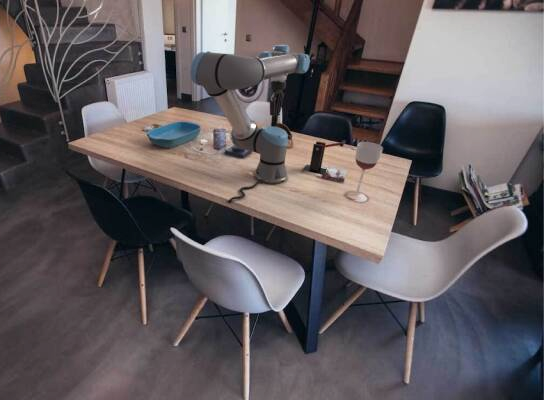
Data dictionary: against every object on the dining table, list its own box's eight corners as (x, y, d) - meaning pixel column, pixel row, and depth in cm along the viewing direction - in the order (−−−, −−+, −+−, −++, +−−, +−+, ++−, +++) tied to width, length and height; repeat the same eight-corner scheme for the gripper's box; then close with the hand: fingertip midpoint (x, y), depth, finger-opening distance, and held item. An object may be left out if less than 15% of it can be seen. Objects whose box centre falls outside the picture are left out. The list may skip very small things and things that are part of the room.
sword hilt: (296, 128, 194) (275, 119, 193) (300, 141, 173) (276, 130, 172) (288, 142, 199) (267, 133, 197) (291, 156, 178) (268, 146, 176)
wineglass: (361, 191, 137) (375, 141, 126) (371, 202, 129) (387, 150, 117) (341, 191, 137) (353, 141, 125) (350, 202, 128) (364, 150, 117)
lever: (346, 143, 143) (345, 138, 142) (343, 147, 139) (342, 142, 138) (318, 148, 151) (317, 143, 150) (315, 151, 147) (314, 147, 146)
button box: (243, 158, 167) (243, 151, 165) (224, 153, 173) (224, 147, 171) (251, 152, 175) (252, 146, 173) (233, 148, 180) (233, 142, 178)
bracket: (327, 171, 155) (333, 143, 147) (323, 177, 149) (329, 148, 141) (306, 166, 159) (311, 139, 152) (301, 172, 154) (305, 143, 146)
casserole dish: (168, 153, 172) (167, 140, 168) (140, 144, 183) (138, 133, 179) (207, 136, 198) (207, 125, 195) (181, 129, 209) (180, 119, 205)
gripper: (279, 83, 143) (274, 132, 155) (291, 79, 153) (285, 126, 165) (265, 81, 147) (261, 129, 159) (277, 77, 156) (272, 123, 168)
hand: (273, 127), depth 162 cm, fingers closed
